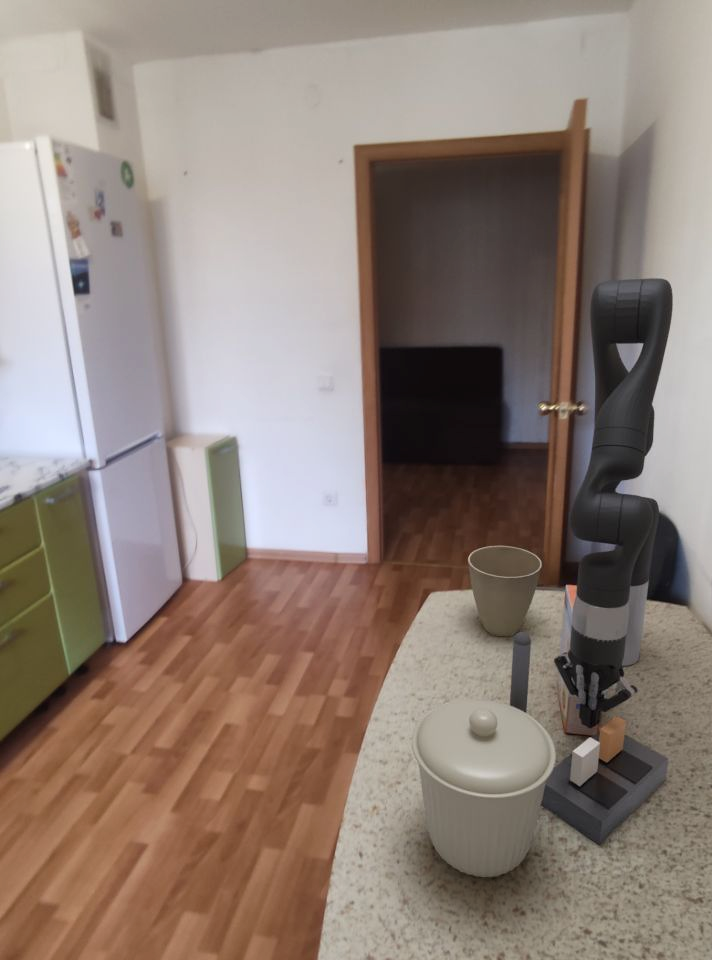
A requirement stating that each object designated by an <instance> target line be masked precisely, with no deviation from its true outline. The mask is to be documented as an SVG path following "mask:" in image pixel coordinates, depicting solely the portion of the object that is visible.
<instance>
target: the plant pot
mask: <svg viewBox="0 0 712 960" xmlns="http://www.w3.org/2000/svg"><path fill="white" fill-rule="evenodd" d="M467 563H468V571H469V578H470V582H471V584H470V585H471V589H472V590H471V591H472V593H473V598H474V601H475V606H476V608H477V611H478V612H477V613H478V614H479V618H480V621H481V623H482V626H483V628H484V630H485V631H486V632H488V634H491V635H494V636H498V637H511V636H513V635H514V636H515V635H516V634H517V633H519V632H518V631H519V630H520V628H521V626H522V624H523V623H524V620H525V618H526V616H527V614H528V611H529V609H530V606H531V604H532V601H533V599H534V596H535V594H536V589H537V586H538V582H539V578H540V574H541V571H542V570H541V569H542V566H543V565H542V563H543V562H542V560H541V558H539V557H538V556H537V555H536V554H535V553H533V552H531V551H528V550H527V549H523V548H520V547H517V546H516V547H515V546H510V545H509V546H508V545H491V546H489V545H488V546H484V547H481V548H480V547H479V548H478V549H476V550H473V551H472V552H470V554H469V556H468V558H467Z"/></svg>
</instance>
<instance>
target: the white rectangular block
mask: <svg viewBox="0 0 712 960" xmlns="http://www.w3.org/2000/svg"><path fill="white" fill-rule="evenodd" d="M591 737H592V736H589V737H588V738H587V739H586V740H585V741H584V742H582V743H581V744H580V745H578V747H576V748H575V749H574V750H572V752H571V753H572V763H571V773H570V780H571V781H572V782H574V783H575V784H577V785H578V786H581V785H582V784H583V783H584V782H585V781H587V780H588V779H589V778H590V777H591V776H592V775H594V774H595V773H596V772H597V768H598V759H599V750H600V743H599V742H598V741H596V740H594V739H593V738H591Z"/></svg>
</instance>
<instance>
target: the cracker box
mask: <svg viewBox="0 0 712 960" xmlns="http://www.w3.org/2000/svg"><path fill="white" fill-rule="evenodd" d="M576 592H577V584H576V585H575V584H574V585H573V584H566V585H565V591H564V599H563V600H564V603H563V614H562V625H561V635H560V636H561V637H560V644H559V645H560V646H559V647H560V648H559V655H561V654H563V653H565V652H566V653H568V651H569V650H570V639H571V627H572V613H573V606H574V602H575V598H576ZM571 679H572V678H571ZM572 681H573V679H572ZM573 683H574V681H573ZM574 685H575V683H574ZM556 688H557V693H558V695H557V697H558V701H559V708H560V713H561V720H562V727H563V733H564V734H572V735H578V736H579V735H581V736H589V737H593V736H594V735H595V734H596V733H598V732H599V731H600V729H601V727H600V725H601V722H600V723H599V724H597V725H596V726H595V727H592V728H591V729H590V728H588V727H586V726H584V725H583V724H581V719H580V718H579V711H580V702H579V699H578V697H577V696H576V695H571V694H570V693H569V691H568V689H567V687H566V685H565V683H564V681H563V679H562V677H561V675H560V673H559V670H558V669H557V679H556Z"/></svg>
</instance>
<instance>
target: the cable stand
mask: <svg viewBox="0 0 712 960" xmlns="http://www.w3.org/2000/svg"><path fill="white" fill-rule="evenodd" d="M531 646H532V639H531V637H530V635H529V634H528V633H527V632H523V631H519V632H517V633H515V634H514V636H513V643H512V657H511V658H512V660H511V661H512V662H511V678H510V694H509V696H510V697H509V705H510V706H513V707H515V708H517V709H519V710H521V711H523V712H525V713H527V708H528V706H527V705H528V694H529V679H530V678H529V676H530V662H531V660H530V659H531V650H532V649H531V648H532V647H531Z"/></svg>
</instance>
